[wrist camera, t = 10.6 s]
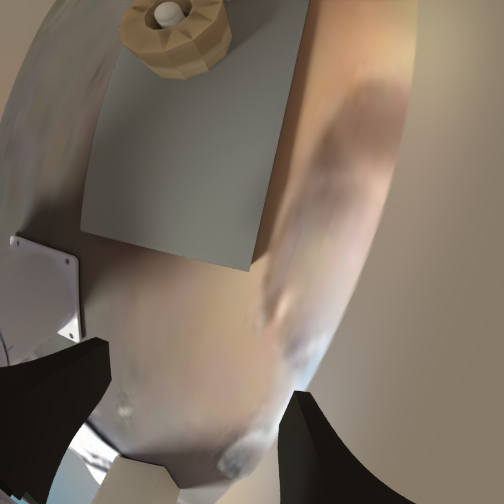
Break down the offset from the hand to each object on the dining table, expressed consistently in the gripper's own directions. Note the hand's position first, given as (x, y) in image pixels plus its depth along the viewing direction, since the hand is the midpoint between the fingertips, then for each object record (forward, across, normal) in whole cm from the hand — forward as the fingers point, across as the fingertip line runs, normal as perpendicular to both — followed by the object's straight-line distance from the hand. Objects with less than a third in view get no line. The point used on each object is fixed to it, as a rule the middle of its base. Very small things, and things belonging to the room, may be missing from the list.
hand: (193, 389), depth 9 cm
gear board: (+9, +5, -16) cm, 19 cm away
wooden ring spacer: (+8, +6, -16) cm, 19 cm away
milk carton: (+10, +6, +29) cm, 31 cm away
